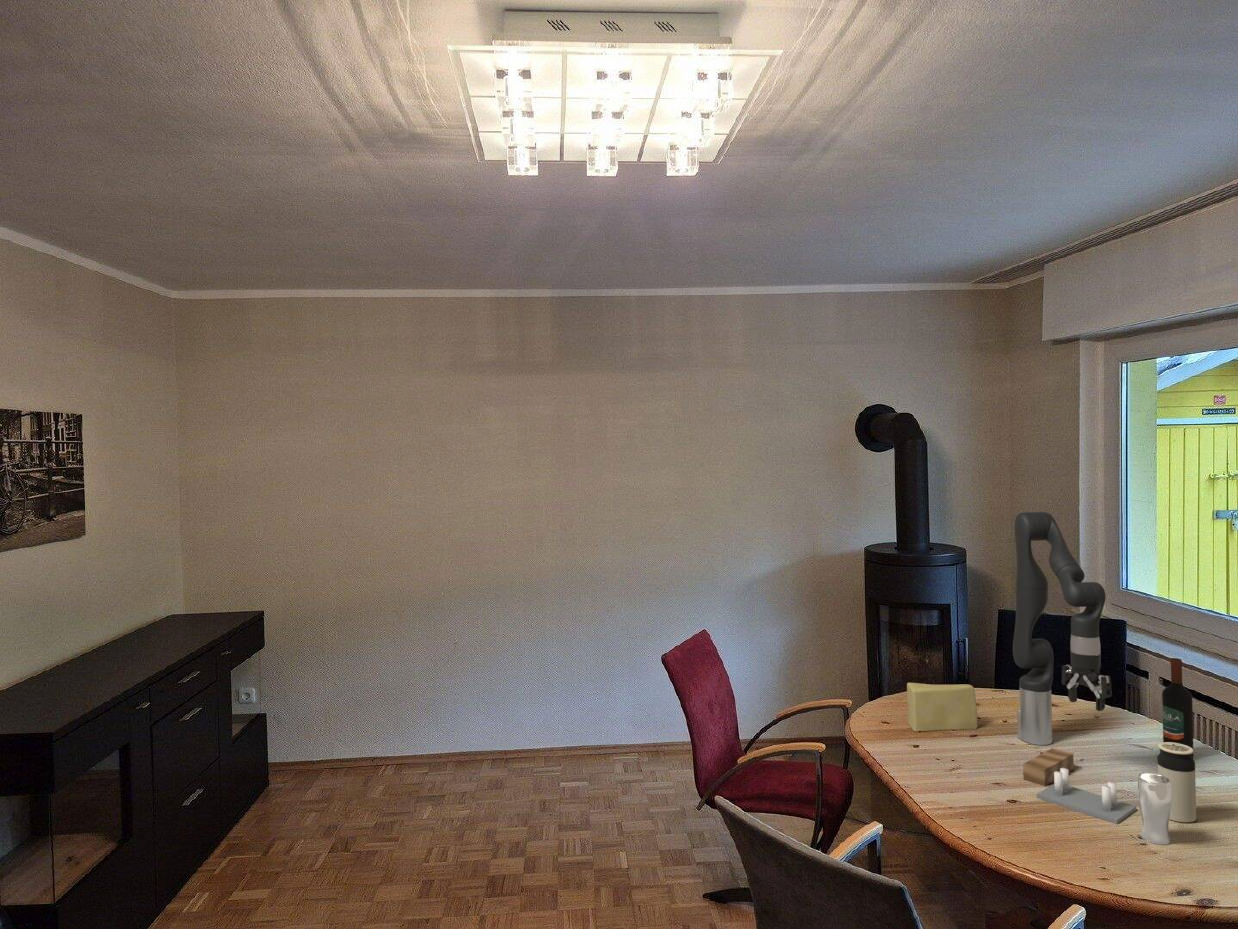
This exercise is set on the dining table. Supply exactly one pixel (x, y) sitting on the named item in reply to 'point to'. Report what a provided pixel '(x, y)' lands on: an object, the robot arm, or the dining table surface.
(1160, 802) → the beer glass
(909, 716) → the cheese
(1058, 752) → the plank
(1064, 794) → the peg stand
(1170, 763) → the travel mug
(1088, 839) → the dining table surface
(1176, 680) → the wine bottle
